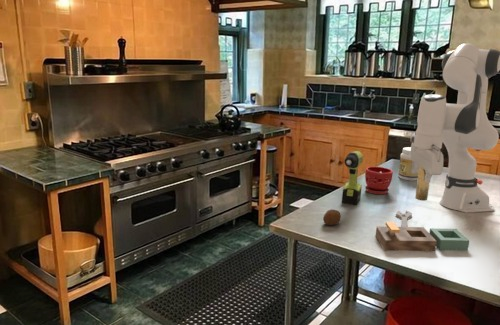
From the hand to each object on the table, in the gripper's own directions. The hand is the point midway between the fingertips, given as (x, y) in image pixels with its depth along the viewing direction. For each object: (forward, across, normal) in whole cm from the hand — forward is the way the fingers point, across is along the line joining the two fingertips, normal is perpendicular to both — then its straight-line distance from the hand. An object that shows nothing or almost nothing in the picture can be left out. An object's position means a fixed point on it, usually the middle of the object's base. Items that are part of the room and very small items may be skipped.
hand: (423, 179), depth 145 cm
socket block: (+25, 0, +4) cm, 25 cm away
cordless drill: (+25, +41, +16) cm, 51 cm away
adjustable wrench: (+26, +18, -1) cm, 32 cm away
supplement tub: (+25, +84, -27) cm, 92 cm away
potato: (+25, +17, +28) cm, 42 cm away
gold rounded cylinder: (+7, 0, 0) cm, 7 cm away
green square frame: (+25, 0, -12) cm, 27 cm away
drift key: (+24, 0, +9) cm, 26 cm away
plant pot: (+25, +59, -2) cm, 64 cm away
